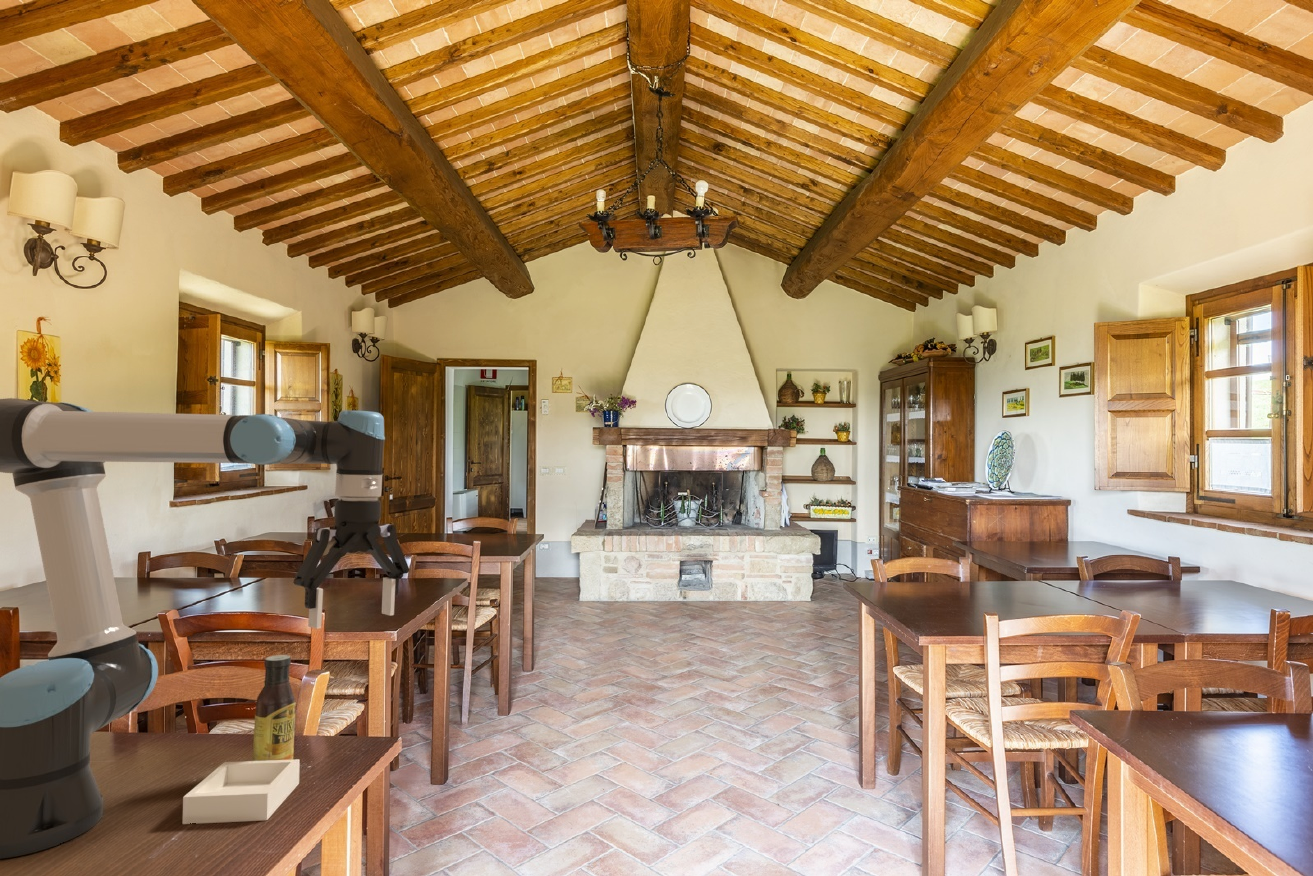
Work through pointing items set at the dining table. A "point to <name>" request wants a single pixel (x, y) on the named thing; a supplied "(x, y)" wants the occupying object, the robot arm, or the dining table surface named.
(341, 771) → the dining table surface
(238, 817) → the square white tray
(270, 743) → the sauce bottle
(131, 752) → the dining table surface
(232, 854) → the dining table surface
